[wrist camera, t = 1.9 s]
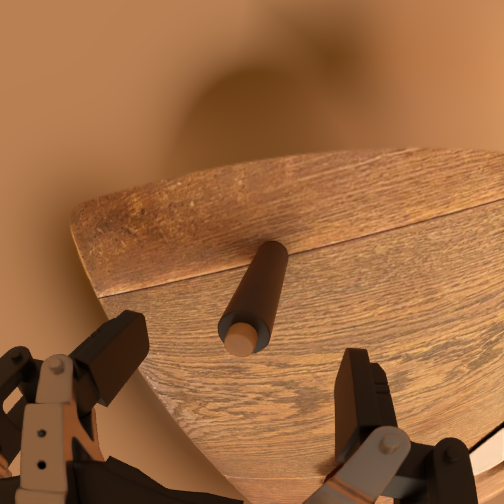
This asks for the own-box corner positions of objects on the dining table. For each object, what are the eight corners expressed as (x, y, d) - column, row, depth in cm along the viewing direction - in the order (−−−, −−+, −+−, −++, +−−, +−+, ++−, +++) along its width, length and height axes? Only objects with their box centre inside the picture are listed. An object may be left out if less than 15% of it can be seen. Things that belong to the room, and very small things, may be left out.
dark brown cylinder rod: (258, 239, 19) (210, 317, 10) (289, 242, 19) (269, 327, 9) (256, 268, 20) (211, 361, 11) (286, 272, 19) (264, 370, 10)
